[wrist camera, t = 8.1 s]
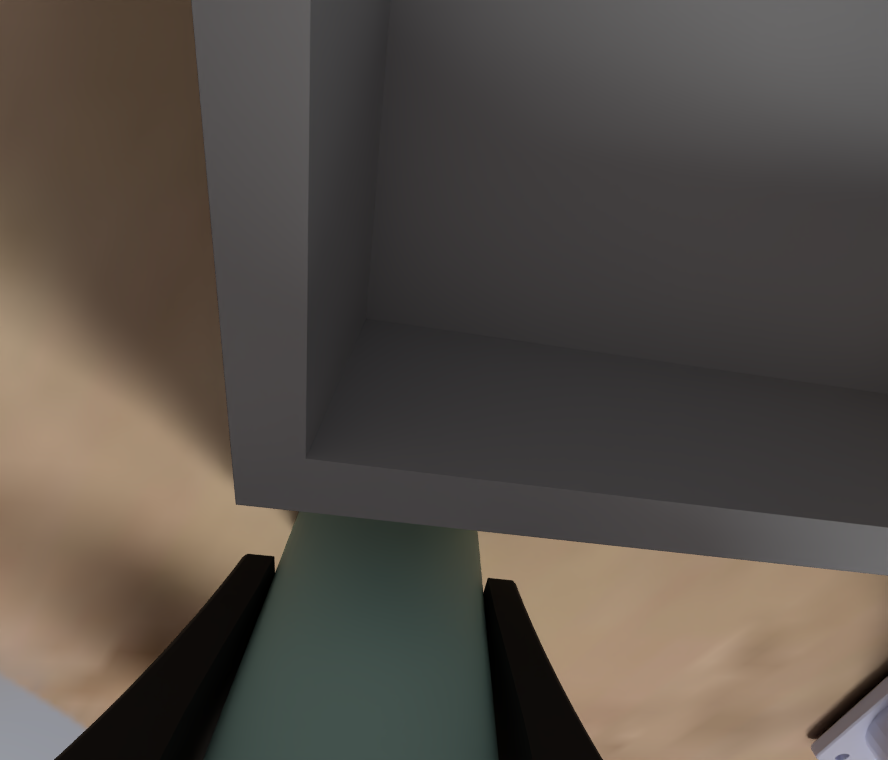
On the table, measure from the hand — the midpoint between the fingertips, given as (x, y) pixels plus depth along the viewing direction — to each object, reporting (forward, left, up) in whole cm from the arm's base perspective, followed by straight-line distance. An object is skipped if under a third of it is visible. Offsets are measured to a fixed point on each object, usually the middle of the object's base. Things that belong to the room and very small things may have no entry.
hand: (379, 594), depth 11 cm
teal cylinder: (0, 0, -2) cm, 2 cm away
